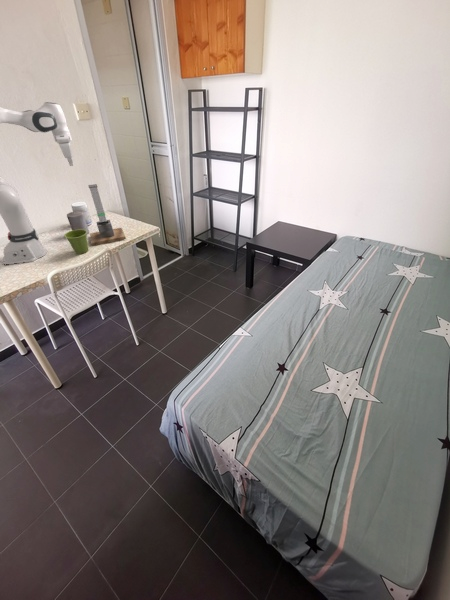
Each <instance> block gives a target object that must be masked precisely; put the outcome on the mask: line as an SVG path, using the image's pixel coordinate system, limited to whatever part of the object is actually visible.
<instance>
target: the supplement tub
mask: <svg viewBox="0 0 450 600" xmlns="http://www.w3.org/2000/svg"><path fill="white" fill-rule="evenodd" d="M70 206H71V209H72V212H75V211H81V212H83V215H84V218H85V221H86V223H87V227H89V226H91V225H92V223H93V222H92V221H93V220H92V218H91V215H90V212H89V209H88V205H87V203H86V202H85V201H77V202H73V203H72V204H71V205H70Z"/></svg>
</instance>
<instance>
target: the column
mask: <svg viewBox="0 0 450 600" xmlns="http://www.w3.org/2000/svg"><path fill="white" fill-rule="evenodd" d="M87 187H88V188H89V191H90V194H91V197H92V201H93V204H94V207H95V210H96V215H97V218H98V221H100V222H106V221H107V220H108V219H107V217H106V213H105V210H104V208H103V202H102V200H101V197H100V193H99V189H98V184H97V183H95V184H88V186H87Z"/></svg>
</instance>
